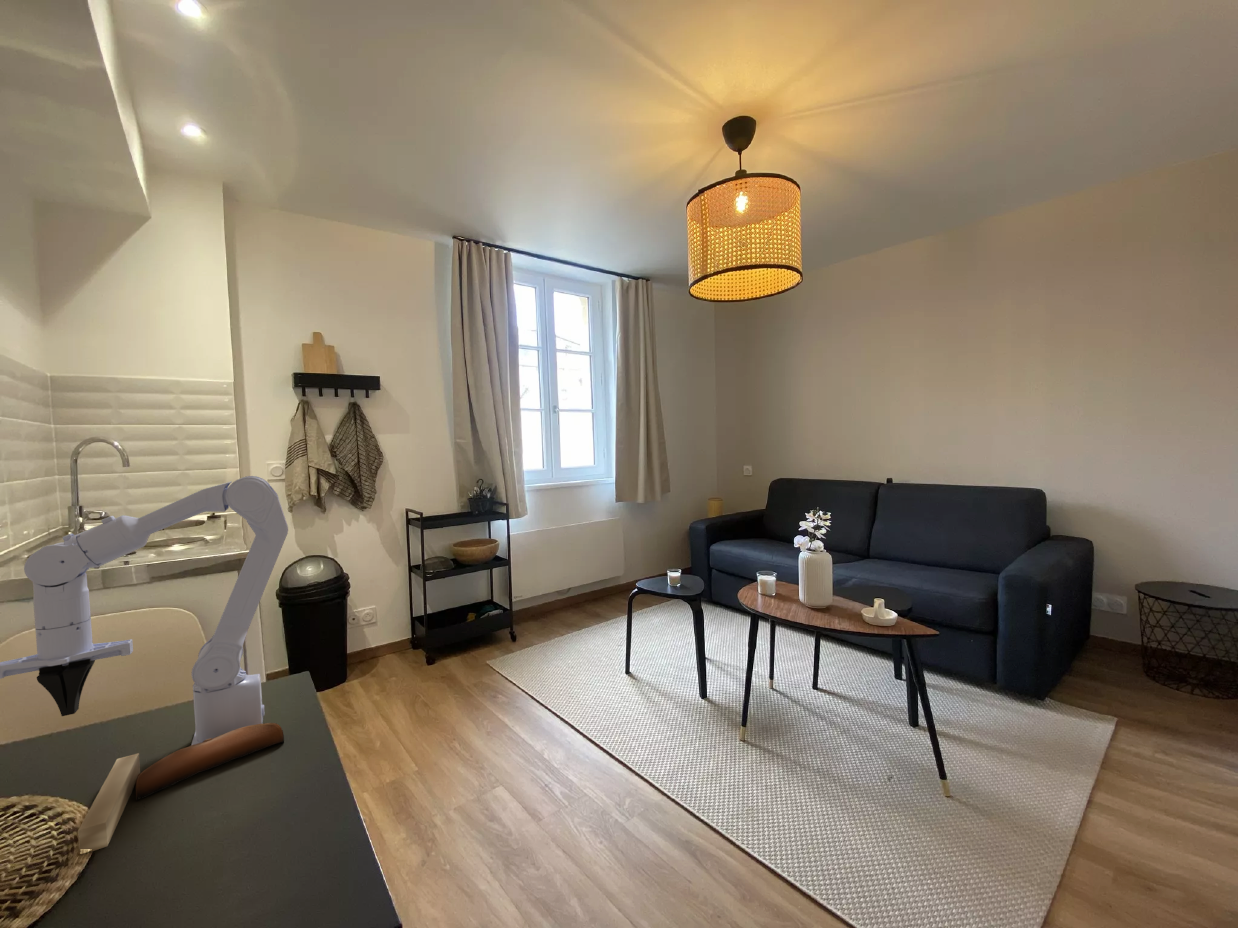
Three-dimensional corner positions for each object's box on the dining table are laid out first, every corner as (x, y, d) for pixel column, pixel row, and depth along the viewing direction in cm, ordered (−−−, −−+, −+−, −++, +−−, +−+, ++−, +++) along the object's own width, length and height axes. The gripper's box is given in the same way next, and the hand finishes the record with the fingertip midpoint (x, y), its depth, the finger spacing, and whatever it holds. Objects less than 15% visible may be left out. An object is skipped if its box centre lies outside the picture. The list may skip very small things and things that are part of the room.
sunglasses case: (269, 726, 90) (273, 699, 88) (282, 759, 86) (286, 732, 84) (127, 779, 77) (127, 749, 74) (134, 821, 73) (135, 790, 70)
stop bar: (140, 772, 78) (138, 752, 78) (107, 845, 63) (105, 821, 63) (118, 778, 77) (117, 758, 77) (79, 855, 62) (78, 830, 62)
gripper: (-22, 642, 71) (-15, 740, 71) (122, 619, 79) (128, 707, 79) (1, 628, 77) (7, 719, 77) (133, 608, 85) (139, 691, 85)
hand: (70, 712), depth 78 cm, fingers closed
